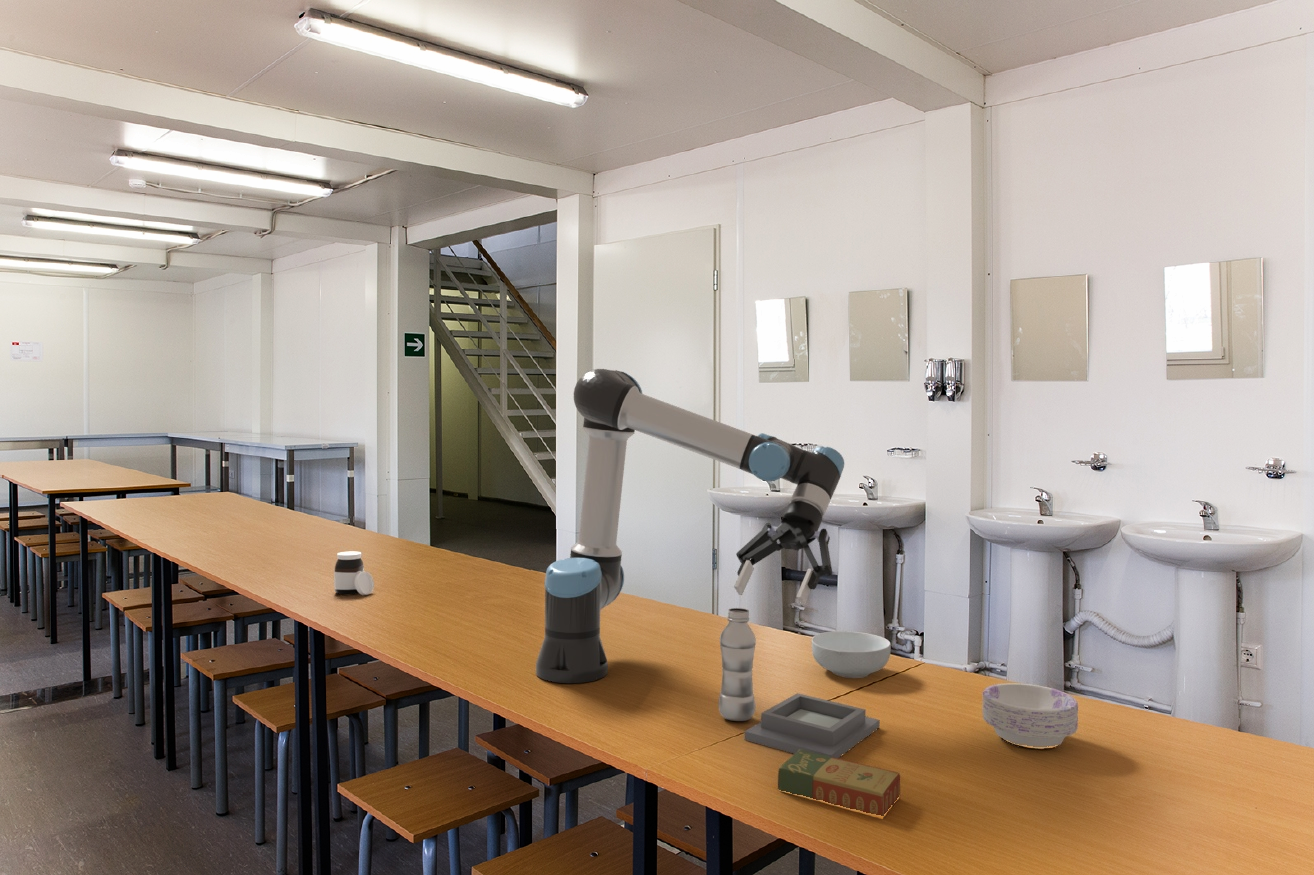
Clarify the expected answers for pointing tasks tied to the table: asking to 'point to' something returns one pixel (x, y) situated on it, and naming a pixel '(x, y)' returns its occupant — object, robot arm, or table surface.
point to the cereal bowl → (850, 652)
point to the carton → (840, 782)
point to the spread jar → (351, 574)
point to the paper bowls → (1030, 713)
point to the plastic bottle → (737, 667)
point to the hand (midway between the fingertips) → (768, 596)
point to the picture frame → (812, 726)
